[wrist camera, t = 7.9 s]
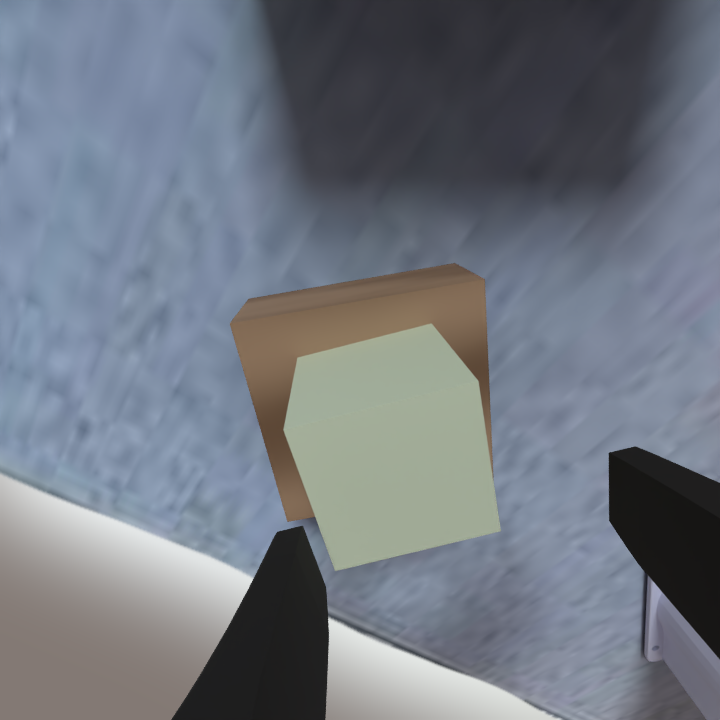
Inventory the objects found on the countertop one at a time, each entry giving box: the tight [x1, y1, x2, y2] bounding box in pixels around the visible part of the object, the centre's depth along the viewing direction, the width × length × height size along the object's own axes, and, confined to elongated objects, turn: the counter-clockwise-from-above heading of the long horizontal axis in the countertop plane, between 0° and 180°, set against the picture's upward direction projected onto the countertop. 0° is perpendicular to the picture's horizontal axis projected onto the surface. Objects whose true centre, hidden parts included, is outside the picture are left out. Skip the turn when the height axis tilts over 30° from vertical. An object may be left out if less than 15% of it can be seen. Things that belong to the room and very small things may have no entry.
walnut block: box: [230, 263, 493, 522], centre depth 18 cm, size 9×9×4 cm
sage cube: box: [283, 323, 501, 571], centre depth 14 cm, size 5×5×5 cm
